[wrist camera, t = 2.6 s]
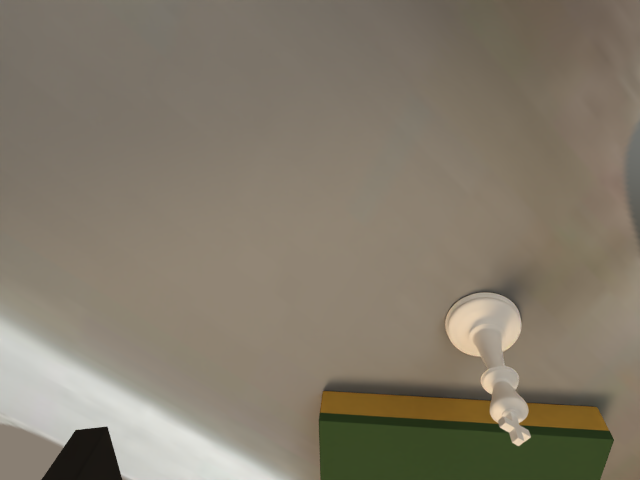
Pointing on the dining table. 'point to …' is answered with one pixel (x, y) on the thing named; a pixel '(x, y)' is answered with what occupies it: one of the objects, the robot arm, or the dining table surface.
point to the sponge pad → (455, 440)
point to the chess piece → (492, 353)
